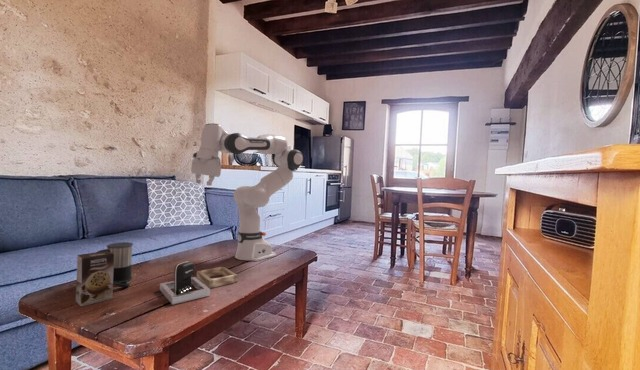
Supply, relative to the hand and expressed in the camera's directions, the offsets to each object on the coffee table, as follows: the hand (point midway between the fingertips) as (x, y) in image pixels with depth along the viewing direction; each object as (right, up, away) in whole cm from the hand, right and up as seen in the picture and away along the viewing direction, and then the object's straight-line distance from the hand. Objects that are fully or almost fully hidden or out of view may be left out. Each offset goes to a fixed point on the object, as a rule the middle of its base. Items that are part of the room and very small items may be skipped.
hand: (203, 184), depth 142 cm
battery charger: (+5, -41, -31) cm, 52 cm away
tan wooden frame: (+12, -41, -16) cm, 46 cm away
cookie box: (-22, -40, -40) cm, 61 cm away
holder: (+5, -41, -31) cm, 52 cm away
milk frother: (-24, -40, -24) cm, 52 cm away
